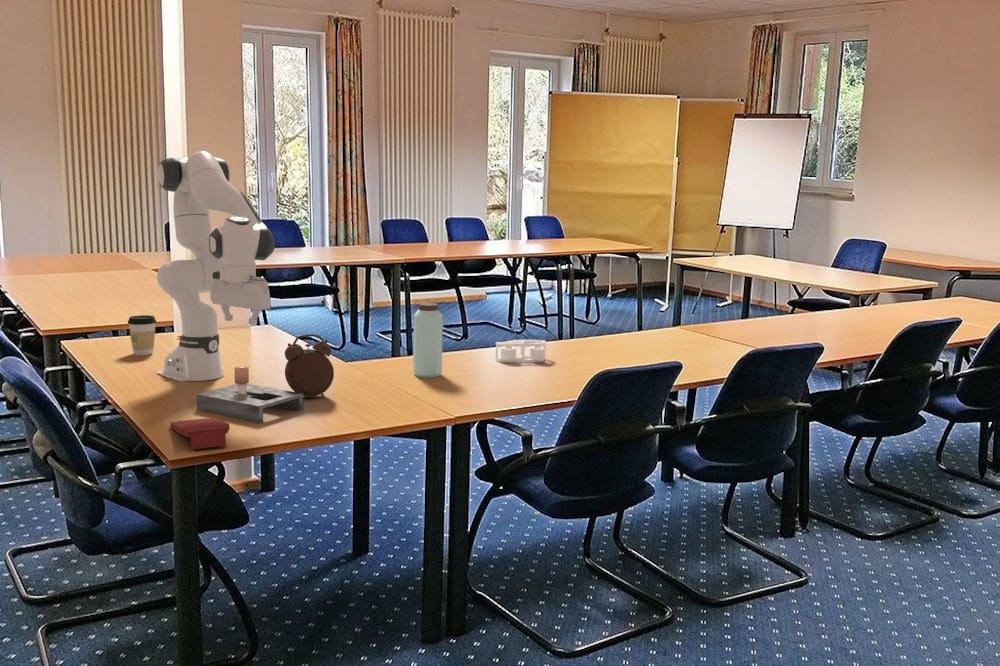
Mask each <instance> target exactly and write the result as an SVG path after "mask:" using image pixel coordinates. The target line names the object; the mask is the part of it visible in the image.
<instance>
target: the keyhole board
mask: <svg viewBox="0 0 1000 666" xmlns="http://www.w3.org/2000/svg"><path fill="white" fill-rule="evenodd" d="M303 399H304V396H303V393H297V392H294V391H293V390H292V391H291V390H285V389H281V388H274V387H268V386H263V385H257V384H252V383H247V395H244V394H238V393H237V384H236V383H234V384H232V385H227V386H223V387H219V388H215V389H211V390H208V391H207V390H206V391H204V392H200V393H196V411H201V412H205V413H210V414H214V415H219V416H223V417H226V418H232V419H236V420H240V421H246V422H250V423H254V424H258V425H259V424H264V409H267V408H269V407H273V406H274V407H279V408H284V409H287V410H292V411H297V412H301V411H303V410H304V401H303Z"/></svg>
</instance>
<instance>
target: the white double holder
mask: <svg viewBox="0 0 1000 666" xmlns="http://www.w3.org/2000/svg"><path fill="white" fill-rule="evenodd" d="M546 341H547V340H543V339H513V340H508V341H497V342H495V362H498V363H508V364H509V363H510V364H511V363H542V362H543V363H544V362H545V360H546V352H547V351H546V347H547V346H546V345H547V342H546ZM499 347H500V357H499ZM517 347H519V349H520V352H519V355H517ZM525 347H526V348H529V355H525V354H526V353H525V351H526V348H525Z"/></svg>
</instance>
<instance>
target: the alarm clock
mask: <svg viewBox="0 0 1000 666" xmlns="http://www.w3.org/2000/svg"><path fill="white" fill-rule="evenodd" d="M304 337H315V338H318V339H319V340H320V341H317V342H315V343H314V345H313V346H312V345H311V344H310V343H307V344H305V347H307V349H304V348H303V347H302V346H301V345H300V344H297V342H298V340H299V339H302V338H304ZM330 345H331V344H328V339H325V340H324V339H323V338H322V337H321V336H320V335H319V334H313V333H309V334H308V333H307V334H301V335H298V336H297V337H296V338H295V339H294V341H293V343H289V342H288V343H287V347H286V349H285V350H284V358H285V359H286V361H287V362H286V364H285V368H284V376H285V377H284V378H285V380H286V383H287V384H288V386H289V388H290V389H291V390H292V392H297V393H303V397H305V398H313V397H317V396H322V397H323V398H326V396H325V394H324V393H325V392H326V391H327V390H328V389H329V388H330V387H331V386H332V383H333V381H334V377H335V370H334V366H333V364H332V362H331V360H330V359H329V358H328V357H330V355H331V353H332V349H331V346H330ZM311 346H312V347H311ZM310 347H311V349H310Z"/></svg>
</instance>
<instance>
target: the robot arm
mask: <svg viewBox="0 0 1000 666" xmlns="http://www.w3.org/2000/svg"><path fill="white" fill-rule="evenodd" d="M228 165H229V164H228V163H227V162H226V160H224V159H222V158H219V157H215V156H214V155H212V154H211V153H210V152H207V151H202V150H201V151H196V152H194V153H191V154H190V155H189V156H186V157H185V156H184V157H177V158H174V157H168V158H165V159H162V160H161V161H160V162H159V164H158V168H157V180H158V182H159V185H160V187H161V188H162V189H163V190H164V191H168V192H173V193H174V194H173V219H174V220H173V221H174V228H175V229H174V230H175V231H174V232H175V238H176V241H177V243H178V244H179V245H180V246H182V248H185V249H187V250H189V251H191V252H192V253H193V255H194V257H195V259H176V260H171V261H168V262H164V263H162V264H161V266H160V267H159V268H158V270H157V271H158V272H157V275H156V276H157V277H156V280H157V283H158V286H159V287H160V288H161V290H162V291H163V292H164V293H166V294H167V295H169V296H170V297H171V298H172V299H173V300H174V302H175V303H176V305H177V307H178V309H179V312H180V317H181V331H182V333H181V335H178V336H177V339H176V340H177V341H178V340H179V342H178V345H177V347H175V349H173V350H172V351H171V352H170V353H168V354H167V355H166V356H165V358H164V361H163V362H164V363H163V365H164V366H163V367H164V368H163V369H159V370H158V371H157V372H156V375H157V374H160V375H163V376H166V377H169V378H172V379H171V380H173V379H175V380H174V381H176V380H178V381H177V382H192V381H193V382H196V381H198V382H200V381H201V382H202V381H211V380H216V379H220V378H223V377H224V376H225V374H224V371H225V370H224V368H223V366H222V358H221V357H222V356H221V351H220V349H219V346H220V335H219V333H218V313H217V311H216V309H215V308H214V307H213V306H211V305H210V304H207V303H205V302H203V301H201V299H200V298H201V297H200V294H203V293H209V294H210V295H209V296H210V297H209V298H210V301H211V303H212V304H214V305H218V306H220V308H221V311H222V313H223V315H224V321H227V322H231V321H233V319H234V318H233V316H234V315H233V314H231V312H230V308H231V307H234V308H242V309H249V310H250V312H251V313H252V315H251V316H250V317H249V318H248V324H249V325H257V324H258V318H259V315H260V314H261V311H265V310H269V309H270V307H271V306H272V305H271V295H270V288H269V282H268V281H267V280H266V278H265V277H263V276H257V274H256V273H257V269H256V267H257V264H256V261H266V260H267V259H268V258H269V257H270V256H271V255H272V254H273V253H274V252H275V251H274V250H275V247H276V243H275V237H274V235H273V233H272V231H271V230H270V229H269V227H267V226H266V225H265V224H264V222H263V221H262V219H261V218H260V216H259V214H258V213H257V211H256V210H255V208H254V206H253V205H252V203H251V202H250V201H249V199H248V198H247V196H246V195H245V193H243V192H242V191H240V190H239V189H237V188H236V187H235V186H233V185H232V184H231V183H230V177H231V176H230V174H231V173H230V168H229V166H228ZM210 210H212V211H217V212H218V211H219V212H222V213H226V214H230V215H232V216H230V217H227V218H225V219H224V221H223V225H222V226H220V227H216V228H214V229H213V230H212V224H211V219H210V218H211V217H210ZM160 375H159V376H160ZM163 376H162V377H163ZM166 377H165V378H166ZM169 378H168V379H169Z"/></svg>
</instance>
